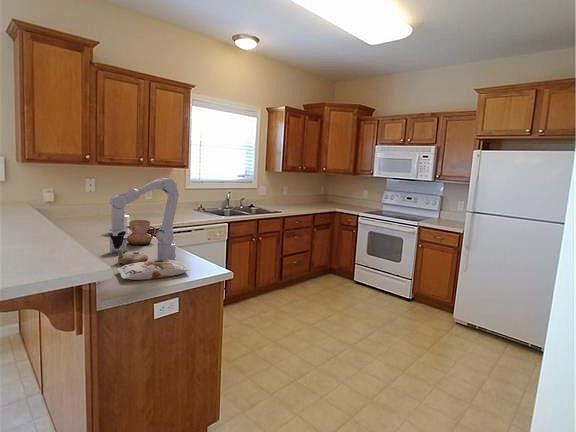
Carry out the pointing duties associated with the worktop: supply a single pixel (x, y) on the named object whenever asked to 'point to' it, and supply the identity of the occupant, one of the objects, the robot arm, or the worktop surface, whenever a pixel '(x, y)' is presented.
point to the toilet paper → (127, 223)
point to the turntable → (131, 258)
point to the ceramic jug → (139, 232)
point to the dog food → (152, 269)
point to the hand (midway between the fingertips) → (118, 247)
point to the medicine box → (123, 247)
